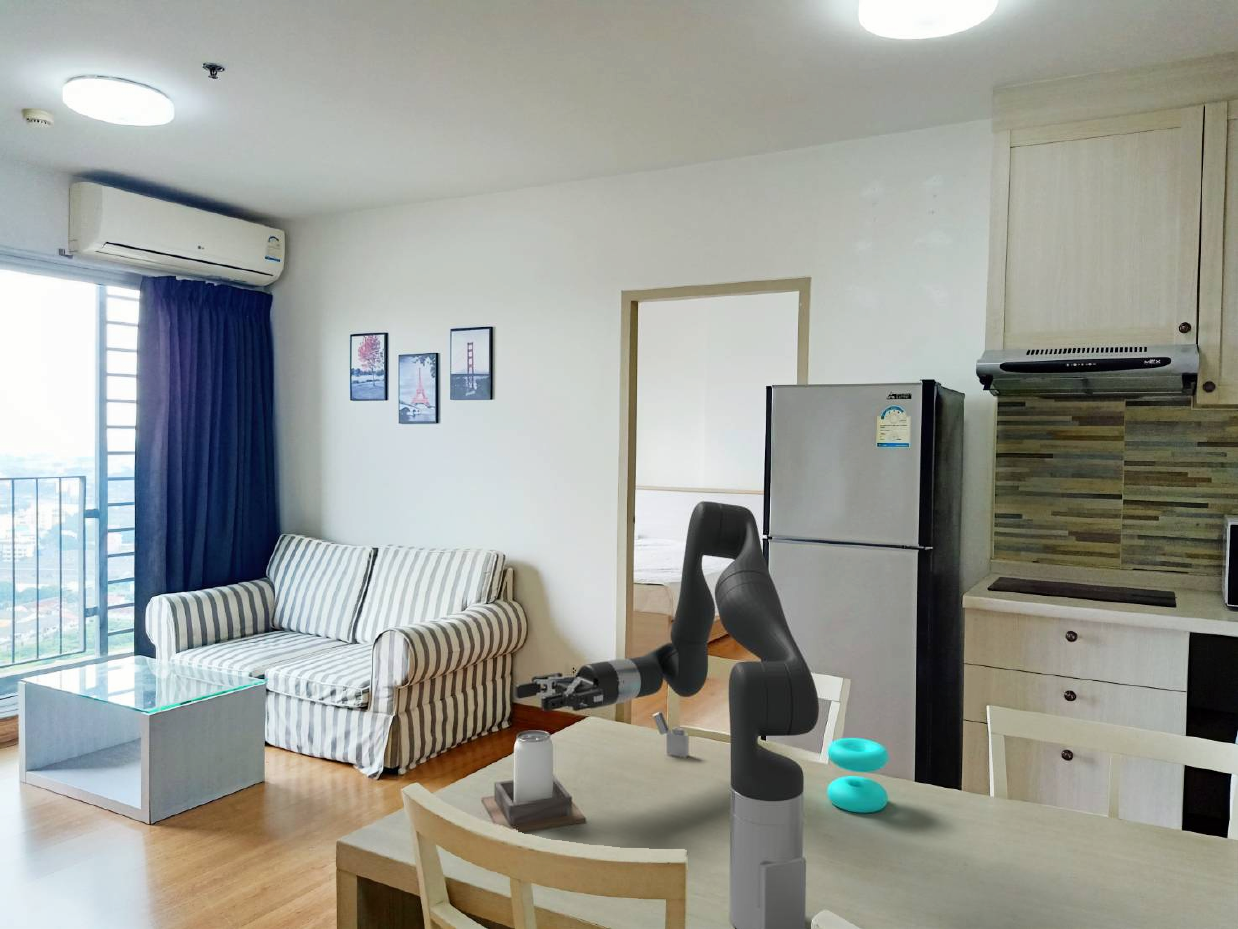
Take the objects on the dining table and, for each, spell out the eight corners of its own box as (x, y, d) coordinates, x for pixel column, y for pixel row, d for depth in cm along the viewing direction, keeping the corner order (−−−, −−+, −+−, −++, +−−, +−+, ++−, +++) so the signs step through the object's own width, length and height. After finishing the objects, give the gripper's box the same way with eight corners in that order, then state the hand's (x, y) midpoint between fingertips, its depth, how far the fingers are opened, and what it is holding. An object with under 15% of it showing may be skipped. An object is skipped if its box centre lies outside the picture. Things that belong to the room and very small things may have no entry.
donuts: (816, 739, 152) (863, 733, 156) (815, 796, 152) (862, 788, 156) (851, 758, 143) (901, 751, 146) (850, 819, 143) (900, 810, 147)
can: (546, 817, 142) (547, 743, 141) (508, 813, 143) (508, 740, 143) (557, 801, 148) (557, 730, 148) (520, 798, 149) (520, 728, 149)
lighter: (688, 755, 172) (689, 714, 172) (685, 758, 171) (686, 717, 171) (655, 749, 175) (655, 710, 175) (652, 752, 174) (652, 712, 174)
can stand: (585, 821, 141) (585, 799, 141) (500, 835, 136) (500, 812, 136) (560, 790, 154) (560, 769, 154) (481, 801, 149) (481, 780, 149)
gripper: (586, 653, 160) (507, 666, 150) (633, 670, 148) (551, 685, 139) (585, 694, 160) (507, 710, 150) (632, 714, 148) (551, 732, 139)
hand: (529, 698), depth 145 cm, fingers open, 8 cm apart
